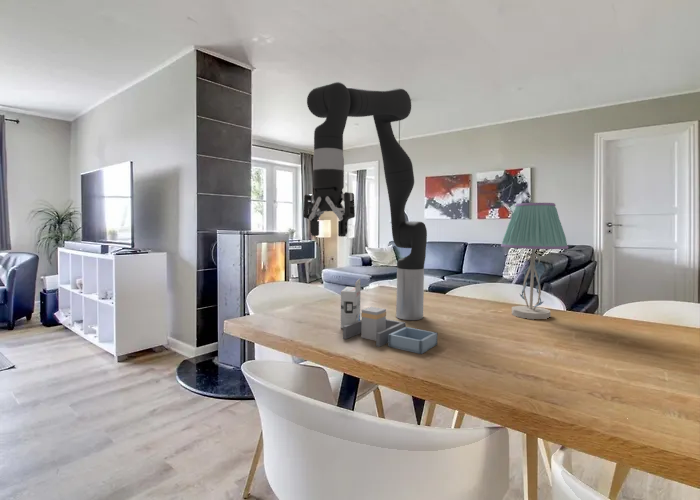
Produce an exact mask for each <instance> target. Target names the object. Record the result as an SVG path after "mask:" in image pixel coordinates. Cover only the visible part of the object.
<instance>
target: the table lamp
mask: <svg viewBox="0 0 700 500" xmlns="http://www.w3.org/2000/svg"><path fill="white" fill-rule="evenodd" d="M514 206H515V207H514V209H513V212H512V216H511V218H510V220H509V223H508V225H507V228H506V232H505V233H504V236H503V237H502V241H501V244H500V247H501V248H509V249H510V248H512V249H526V250H527V249H528V250H529V249H530V250H531V252H527V253H526V258H525V260H526V262H528V257H530V265H528V267H527V268H526V269H524V270H523V275H524V279H523V282H522V283H523V285H522V286H523V287H522V291H521V293H518V294H519V296H520V297H521V298H522V299H523V300H524V301H525V304H526V305H514V306H511V315H513V316H514V317H516V316H517V318H521V319H525V318H527V319H528V320H534V319H546V320H548V319H547V318H549V317H552V315H551V313H552V312H551V310H550V309H547V308H544V307H540V306H541V305H542V304H544V302H545V301H544V300H543V301H542V297H541V294H542V291H541V290H542V289H541V283H540V280H541V277H542V276H544V273H545V270H546V268H545V266H544V264H543V262H540V261H541V257H540V255H539V254H538V253H537V254H536V250H568V249H569V245H568V242H567V237H566V235H565V231H564V229H563V225H562V222H561V220H560V216H559V213H558V209H557V207H556V203H555V202H520V203H516V204H515V205H514ZM536 257H537V258H538V261H537V262H536ZM529 275H530V282H529V283H530V286H529V302H528V299H527V296H526V288H527V286H528V282H527V280H528V277H529ZM534 278H536V282H537V285H536V286H535V290H536V293H537V294H538V295H537V301H536V303H535V305H534V306H533V304H534V303H533V301H534V297H533V296H534V285H535V284H534V282H535V281H534V280H535V279H534ZM527 319H526V320H527ZM549 319H550V318H549Z"/></svg>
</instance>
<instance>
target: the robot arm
mask: <svg viewBox="0 0 700 500" xmlns="http://www.w3.org/2000/svg"><path fill="white" fill-rule="evenodd" d="M306 104H307V105H306V106H307V108H308V111H309V112H310V113H311V114H312V115H313V116H315V117H317V118H321V119H325V120H324V121H323V122H322V123H321V124H319V125H318V126H316V127H315V128H314V131H313V132H314V133H313V151H314V152H313V156H312V157H313V158H312V188H313V189H314V194H307V193H306V194H305V195H304V197H303V199H304V200H303V215H302V216H303V218H304V219H308V220H309V222H310V223H309V226H310V227H309V231H310V234H311V236H312V237H318V236H319V235H320V221H319V219H320V218H321V216H322V215H323V214H324V213H325V212H333V213H334V214H335V215H336V217H337V218H338V223H337V224H338V226H337V227H338V229H337V230H338V233H337V234H338V237H342V238H343V237H346V236H347V234H348V226H349V225H348V221H349V220H351V219H354V218H355V217H356V212H355V194H354V193H353V192H350V191H349V192H348V191H345V192H343V189H344V187H345V159H344V131H345V129H346V125H347V120H348V117H349V118H353V117H354V118H363V117H372V118H373V121H374V125H375V129H376V133H377V137H378V142H379V145H380V152H381V158H382V164H383V172H384V178H385V183H386V189H387V194H388V195H387V196H388V202H389V209H390V223H391V232H392V233H391V234H392V235H391V236H392V241H393V243H394V245H395V246H396V247H397V248H401V249H411V250H410V253H409V254H408V255H407V256H405V257H402V258H399V259H398V260H397V261H396V262H397V263H396V305H395V306H396V312H395V316H396V318H397V319H399V320H404V321H418V320H422V319H423V318H424V301H425V300H424V297H425V296H424V295H425V290H424V289H425V288H424V287H425V285H424V284H425V280H424V279H425V262H426V254H427V253H426V252H427V240H428V239H427V237H428V231H427V227H426V224H425V223H424V222H423V221H417V220H416V221H415V220H414V221H413V220H410V221H408V220H407V221H406V215H405V207H406V205H407V201H408V200H409V197H410V195H411V193H412V191H413V188H414V185H415V176H414V168H413V167H414V166H413V162H412V160H411V158H410V157H409V155H408V154H407V152H406V151H405V149H404V148H403V147H402V146H401V145H400V143H399V142H398V141H397V138H396V137H395V134H394V130H393V128H392V124H391V123H394V122H399V121H404V120H405V119H407V118H408V117H409V116H410V113H411V110H412V100H411V96H410V94H409V92H408V91H407V90H405V89H403V88H392V89H388V90H371V89H363V88H358V87H357V88H355V87H347V85H345V84H344V83H342V82H340V81H336V82H331V83H329V84H328V83H327V84H323V85H320V86H317V87H314V88H313V89H312V90H310V91H309V92H308V95H307V98H306ZM342 202H344V204H343V203H342Z"/></svg>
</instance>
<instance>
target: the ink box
mask: <svg viewBox="0 0 700 500" xmlns="http://www.w3.org/2000/svg"><path fill="white" fill-rule="evenodd" d="M354 283H355V286H345V288H343V289H342V290H341V291H340V329H343V326H345V325H348V324H351V323H354V322H357V321H359V320H361V289H362V288H361V287H362V286H361V283H362V281H361V278H358V279H357V280H356V281H355V282H354Z"/></svg>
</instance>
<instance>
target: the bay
mask: <svg viewBox="0 0 700 500" xmlns="http://www.w3.org/2000/svg"><path fill="white" fill-rule="evenodd" d="M361 325H362V319H360V320H359V321H357V322H354V323H351V324H348V325H345V326H343V328H342V335H343V336H342V339H345V340H347V339H350V338H351V337H354V336H356V335H360V334H361ZM406 325H407V323H406V322H404V321H398V320H395V319H388V318H386V329H385V330H383V331H380V332H378V333H376V341H375V346H376V347H378V348H381V347H382V346H384V345H386V344H388V335H389V334H391V333H393V332H395V331H398V330H400V329H402V328H404V327H407V326H406Z"/></svg>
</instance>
